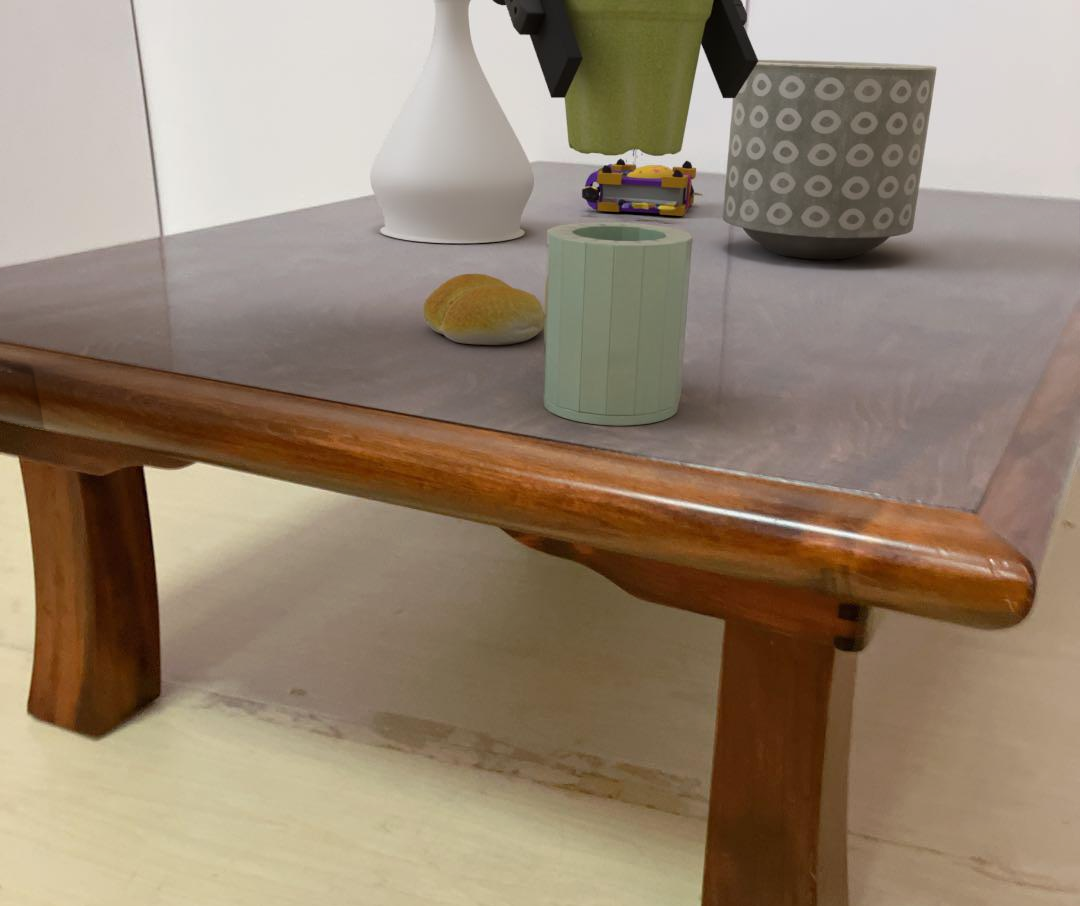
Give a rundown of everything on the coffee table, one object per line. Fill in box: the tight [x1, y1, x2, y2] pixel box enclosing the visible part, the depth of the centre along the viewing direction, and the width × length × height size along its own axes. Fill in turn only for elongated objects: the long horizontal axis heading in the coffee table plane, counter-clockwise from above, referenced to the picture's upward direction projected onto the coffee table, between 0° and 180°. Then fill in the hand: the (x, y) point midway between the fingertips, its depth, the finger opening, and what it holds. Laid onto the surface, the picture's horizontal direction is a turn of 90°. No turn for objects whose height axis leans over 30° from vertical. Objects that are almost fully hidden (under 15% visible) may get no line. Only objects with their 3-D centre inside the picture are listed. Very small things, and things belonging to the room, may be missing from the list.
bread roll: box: [422, 273, 545, 346], centre depth 85 cm, size 8×9×4 cm
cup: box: [542, 221, 693, 427], centre depth 68 cm, size 8×8×10 cm
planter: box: [722, 59, 938, 261], centre depth 118 cm, size 19×19×18 cm
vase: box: [369, 0, 535, 244], centre depth 123 cm, size 17×17×25 cm
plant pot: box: [562, 0, 714, 157], centre depth 62 cm, size 9×9×9 cm
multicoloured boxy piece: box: [581, 149, 703, 217], centre depth 147 cm, size 15×25×12 cm, turn 167°
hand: (656, 79), depth 60 cm, fingers closed on plant pot, 9 cm apart
